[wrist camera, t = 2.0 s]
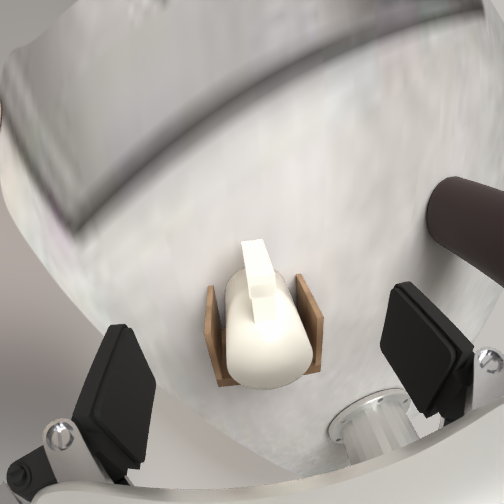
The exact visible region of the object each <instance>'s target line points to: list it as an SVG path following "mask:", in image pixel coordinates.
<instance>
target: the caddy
mask: <svg viewBox="0 0 504 504" xmlns="http://www.w3.org/2000/svg"><path fill="white" fill-rule="evenodd" d="M296 284H297V312H298V314H299V317H300V319H301V322H302V324H303V327H304V329H305V332H306V334H307V337H308V339H309V342H310V345H311V347H312V351H313V358H312V362H311V364H310V366H309V368H308V369H307V371H306V372H305V373H304V374H303V375H306V374H311V373H316V372H320V369H321V355H322V339H323V320H324V317H323V315H322V313H321V311H320V309H319V307H318V305H317V303H316V301H315V299H314V297H313V295H312V294H311V292H310V290H309V288H308V286H307V284H306V282H305V280H304V279H303V277H302V275H301V274H297V275H296ZM204 336H205V340H206V343H207V347H208V351H209V355H210V358H211V362H212V365H213V369H214V372H215V376H216V379H217V383H218V386H219V387H222V386H232V385H241V384H239V383H238V382H237V381H235V380H234V379H233V378H232V377H231V375H230V374H229V372H228V369H227V359H226V328H222V326H221V322H220V317H219V312H218V307H217V302H216V297H215V292H214V286H208V295H207V305H206V316H205V328H204Z"/></svg>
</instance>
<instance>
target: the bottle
mask: <svg viewBox="0 0 504 504" xmlns="http://www.w3.org/2000/svg"><path fill="white" fill-rule="evenodd" d="M427 224H428V228H429V232H430V234H431V236H432V237H433V239H434V240H435V241H436V242H437V243H439V244H440V245H442V246H443V247H445V248H446V249H448V250H450V251H451V252H453V253H454V254H456V255H457V256H459V257H460V258H462V259H464V260H465V261H467V262H468V263H470V264H471V265H472V266H474V267H475V268H477V269H478V270H480V271H481V272H483V273H484V274H485V275H487V276H488V277H490V278H491V279H493V280H494V281H495V282H497V283H498V284H499V285H501V286H502V287H503V288H504V191H501V190H498V189H495V188H492V187H489V186H486V185H483V184H480V183H477V182H474V181H470V180H467V179H463V178H460V177H456V176H455V177H449V178H446V179H445V180H443V181H442V182H440V183H439V185H438V186H437V187H436V189H435V190H434V192H433V194H432V196H431V199H430V201H429V206H428V211H427Z"/></svg>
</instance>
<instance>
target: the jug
mask: <svg viewBox="0 0 504 504" xmlns="http://www.w3.org/2000/svg"><path fill="white" fill-rule="evenodd" d="M241 243H242V251H243V259H244V265H245V268H242V269H241V270H239V271H237V272H236V273H235V274H234V275H233V276H232V277H231V278H230V280H229V281H228V283H227V286H226V290H225V310H226V359H227V369H228V372H229V374H230V375H231V377H232V378H233V379H234V380H235V381H237V382H238V383H239V384H241V385H243V386H246V387H249V388H253V389H261V390H266V389H275V388H279V387H283V386H286V385H288V384H290V383H292V382H294V381H296V380H297V379H298V378H300V377H301V376H302V375H303V374H304V373H305V372H306V371H307V369H308V368H309V366H310V364H311V362H312V358H313V351H312V347H311V345H310V342H309V339H308V337H307V334H306V332H305V329H304V327H303V324H302V322H301V319H300V317H299V314H298V312H297V309H296V307H295V304H294V302H293V299H292V297H291V294H290V292H289V289H288V287H287V284H286V282H285V280H284V278H283V276H282V275H281V274H280V273H279V272H278V271H276V270H275V269H273V267H272V264H271V261H270V259H269V256H268V253H267V250H266V248H265V245H264V242H263V239H259V240H251V241H243V242H241Z"/></svg>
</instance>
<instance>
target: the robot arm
mask: <svg viewBox="0 0 504 504" xmlns="http://www.w3.org/2000/svg"><path fill="white" fill-rule="evenodd" d="M380 348H381V351H382V353H383V354H384V356H385V357H386V359H387V361H388V362H389V364H390V365H391V367H392V368H393V370H394V372H395V373H396V375H397V376H398V378H399V380H400V381H401V383H402V385H403V386H404V388H405V389H406V391H407V392H406V391H404V390H401V389H388V390H383V391H380V392H376V393H374V394H371V395H369V396H367V397H365V398H363V399H361V400H359V401H357V402H355V403H354V404H352V405H350V406H349V407H348V408H346V409H345V410H343V411H342V412H341V413H340V414H339V415H338V416H337V417H336V418H335V419H334V420H333V421H332V423H331V424H330V426H329V429H328V433H329V436H330V439H331V440H332V441H333V442H335V443H337V444H344V445H345V448H346V451H347V454H348V457H349V460H350V463H351V465H352V466H349V467H346V468H342V469H339V470H335V471H331V472H328V473H324V474H320V475H316V476H311V477H307V478H302V479H297V480H292V481H287V482H281V483H274V484H267V485H260V486H251V487H241V488H228V489H205V490H204V489H203V490H201V489H200V490H191V489H160V488H146V487H136V486H134V485H133V484H132V482H131V481H130V480H129V478H128V477H127V470H128V468H129V469H140V463H142V462H144V460H145V455H146V447H147V439H148V433H149V426H150V419H151V413H152V406H153V401H154V395H155V389H156V381H155V378H154V376H153V374H152V372H151V370H150V368H149V365H148V363H147V361H146V359H145V357H144V355H143V353H142V350H141V348H140V346H139V344H138V341H137V339H136V337H135V334H134V332H133V330H132V329H131V328H128V327H127V325H126V324H117V325H110V326H109V327H108V330H107V332H106V334H105V336H104V338H103V340H102V343H101V345H100V347H99V350H98V352H97V354H96V356H95V359H94V361H93V364H92V366H91V368H90V370H89V373H88V375H87V378H86V380H85V383H84V386H83V388H82V391H81V393H80V396H79V398H78V401H77V404H76V406H75V409H74V412H73V416H72V419H71V420H69V419H65V418H61V419H57V420H54V421H53V422H51V423H50V424H49V425H48V426H47V427H46V428H45V430H44V432H43V437H42V441H43V445H42V446H41V447H39V448H37V449H36V450H34V451H32V452H31V453H29V454H27V455H25V456H24V457H22V458H20V459H19V460H17V461H15V462H14V463H12V464H11V465H10V467H9V468H8V471H7V483H5V482H3V483H2V484H1V485H0V504H504V355H503V354H502V353H501V352H500V351H498V350H496V349H495V348H491V347H483V348H480V349H478V350H477V351H476V353H475V354H474V352H473V351H472V350H473V348H474V345H473V344H472V343H471V342H470V341H469V340H468V339H467V338H466V337H465V336H464V335H463V333H462V332H461V331H460V330H459V329H458V328H457V327H456V326H455V325H454V324H453V323H452V322H451V321H450V320H449V319H448V318H447V317H446V316H445V315H444V314H443V313H442V312H441V311H440V310H439V309H438V308H437V307H436V306H435V305H434V304H433V303H432V302H431V301H430V300H429V299H428V298H427V297H426V296H425V295H424V294H423V293H422V292H421V291H420V290H419V289H418V288H417V287H416V286H414V285H413V284H412V283H411V282H409V281H408V282H403V283H399V284H396V285H395V286H394V288H393V289H392V290H391V292H390V297H389V303H388V308H387V313H386V318H385V323H384V328H383V332H382V337H381V341H380ZM407 393H408V394H409V395H408V394H407ZM409 396H410V397H409ZM410 398H411V399H412V401H413V403H414V404H415V406H416V408H417V410H418V411H419V412H420V413H423V414H424V415H425V417H426V418H428V417H430V416H432V415H434V414H436V413H438V412H439V413H440V415H441V419H440V424H439V428H438V430H437V431H435V432H433V433H431V434H429V435H427V436H425V437H423V438H421V439H420V438H419V436H418V435H417V433H416V431H415V429H414V427H413V425H412V423H411V422H410V420H409V418H408V416H407V414H406V412H407V410H408V408H409V406H410Z"/></svg>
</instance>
